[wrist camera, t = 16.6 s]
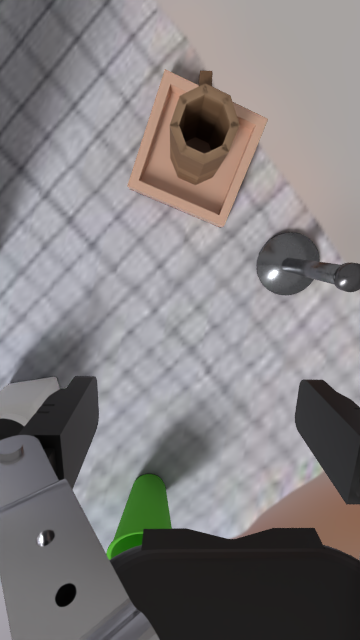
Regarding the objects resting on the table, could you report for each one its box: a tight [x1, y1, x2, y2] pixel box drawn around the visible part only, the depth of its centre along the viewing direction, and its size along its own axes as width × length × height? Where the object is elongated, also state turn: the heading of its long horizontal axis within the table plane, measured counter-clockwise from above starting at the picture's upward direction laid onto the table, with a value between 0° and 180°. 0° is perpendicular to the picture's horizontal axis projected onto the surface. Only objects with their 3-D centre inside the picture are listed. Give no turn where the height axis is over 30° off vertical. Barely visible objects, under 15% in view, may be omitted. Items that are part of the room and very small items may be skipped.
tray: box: [128, 69, 268, 228], centre depth 33 cm, size 12×12×2 cm
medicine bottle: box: [0, 377, 60, 441], centre depth 37 cm, size 7×7×12 cm
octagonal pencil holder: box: [170, 71, 240, 185], centre depth 29 cm, size 5×7×10 cm
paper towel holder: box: [257, 233, 360, 295], centre depth 31 cm, size 8×8×14 cm
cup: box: [106, 474, 172, 560], centre depth 42 cm, size 9×9×11 cm
